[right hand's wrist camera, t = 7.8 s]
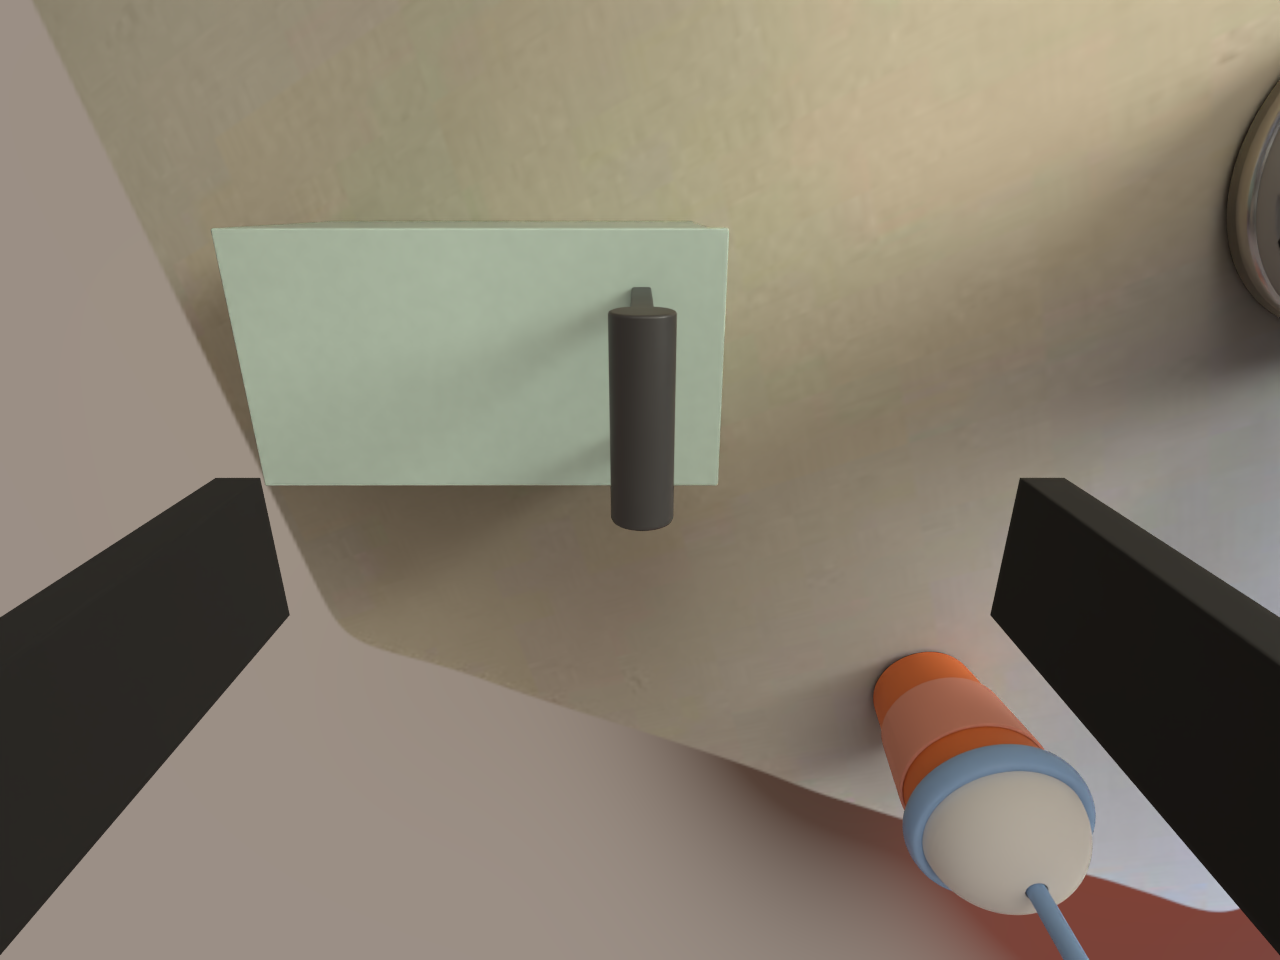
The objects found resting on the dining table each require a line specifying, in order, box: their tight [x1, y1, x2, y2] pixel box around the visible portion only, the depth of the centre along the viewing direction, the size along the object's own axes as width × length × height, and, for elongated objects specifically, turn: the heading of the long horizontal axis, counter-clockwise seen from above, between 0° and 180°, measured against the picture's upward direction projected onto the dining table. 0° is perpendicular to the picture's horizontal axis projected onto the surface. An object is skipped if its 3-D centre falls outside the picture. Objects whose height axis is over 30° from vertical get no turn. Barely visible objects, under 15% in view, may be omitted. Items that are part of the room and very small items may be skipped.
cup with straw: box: [873, 652, 1095, 960], centre depth 35 cm, size 9×9×18 cm
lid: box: [211, 228, 729, 531], centre depth 23 cm, size 18×10×9 cm, turn 90°
